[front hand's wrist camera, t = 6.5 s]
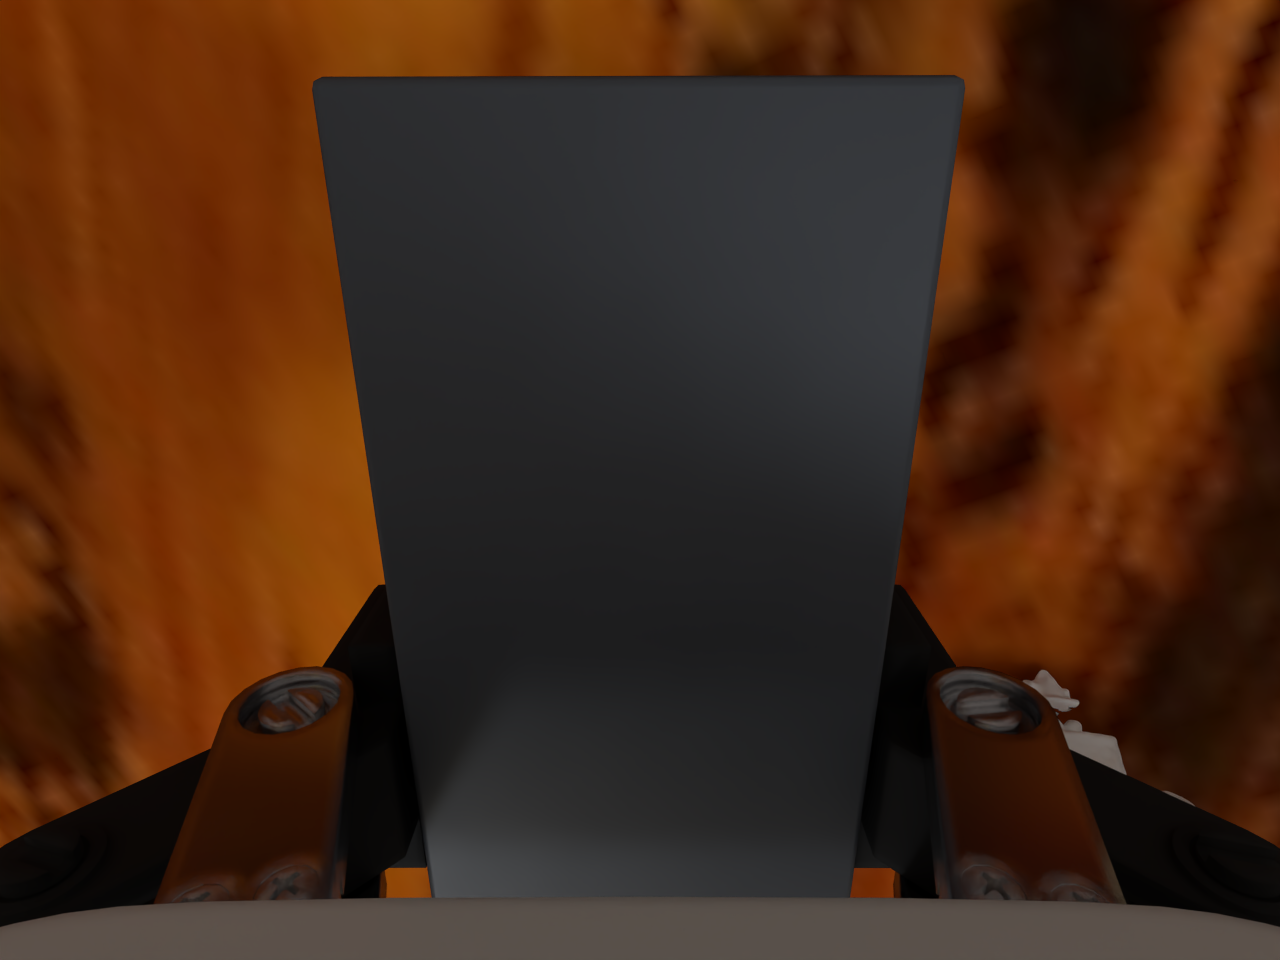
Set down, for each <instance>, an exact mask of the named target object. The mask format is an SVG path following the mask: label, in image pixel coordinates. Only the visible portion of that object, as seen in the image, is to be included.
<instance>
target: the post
mask: <svg viewBox="0 0 1280 960" xmlns="http://www.w3.org/2000/svg"><path fill="white" fill-rule="evenodd" d="M312 92H313V98H314V105H315V112H316V119H317V125H318V132H319V139H320V146H321V152H322V159H323V166H324V173H325V179H326V186H327V193H328V200H329V206H330V213H331V220H332V227H333V233H334V240H335V247H336V254H337V260H338V267H339V274H340V281H341V287H342V294H343V301H344V308H345V314H346V321H347V328H348V335H349V341H350V348H351V355H352V362H353V368H354V375H355V382H356V389H357V395H358V402H359V409H360V416H361V422H362V429H363V436H364V443H365V449H366V456H367V463H368V470H369V476H370V483H371V490H372V497H373V503H374V510H375V517H376V524H377V530H378V537H379V544H380V551H381V557H382V564H383V571H384V578H385V584H386V591H387V598H388V605H389V611H390V618H391V625H392V632H393V639H394V645H395V652H396V659H397V666H398V672H399V679H400V686H401V693H402V699H403V706H404V713H405V720H406V726H407V733H408V740H409V747H410V753H411V760H412V767H413V774H414V780H415V787H416V794H417V801H418V807H419V814H420V821H421V828H422V834H423V841H424V848H425V855H426V861H427V868H428V875H429V882H430V888H431V895H432V898H492V897H788V898H850V893H851V886H852V879H853V872H854V865H855V858H856V851H857V844H858V837H859V830H860V823H861V816H862V809H863V802H864V795H865V788H866V781H867V774H868V767H869V760H870V752H871V745H872V738H873V731H874V724H875V717H876V710H877V703H878V696H879V689H880V682H881V675H882V668H883V661H884V654H885V647H886V640H887V633H888V626H889V619H890V612H891V605H892V598H893V591H894V584H895V577H896V570H897V563H898V556H899V549H900V542H901V535H902V528H903V520H904V513H905V506H906V499H907V492H908V485H909V478H910V471H911V464H912V457H913V450H914V443H915V436H916V429H917V422H918V415H919V408H920V401H921V394H922V387H923V380H924V373H925V366H926V359H927V352H928V345H929V338H930V331H931V324H932V317H933V310H934V303H935V296H936V288H937V281H938V274H939V267H940V260H941V253H942V246H943V239H944V232H945V225H946V218H947V211H948V204H949V197H950V190H951V183H952V176H953V169H954V162H955V155H956V148H957V141H958V134H959V127H960V120H961V113H962V106H963V99H964V92H965V85H964V80H963V79H961V78H959V77H957V76H955V75H843V76H452V77H321V78H319V79H317V80H315V81H314V82H313V88H312Z"/></svg>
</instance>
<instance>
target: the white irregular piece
mask: <svg viewBox="0 0 1280 960" xmlns="http://www.w3.org/2000/svg"><path fill="white" fill-rule="evenodd" d="M1023 682H1024V683H1026V684H1028V685H1029V686H1031V687H1033V688H1034V689H1036V690H1037V691H1038V692H1039V693H1040V694H1041V695H1043V696H1044V697H1045V698H1046V699H1047V700H1048V701H1049V703H1050V704H1051V706H1052V707H1053V708H1056V709H1058V710H1059V711H1062V712H1064V711H1069V710H1071V709H1070V707H1073V708H1075V707H1077V706H1078V705H1079V701H1078V700H1076V699H1071V698H1070V695H1069V690H1068V689H1064V688H1061V687H1060V686H1059V685H1058V684H1057V682H1056V681H1055V679H1054V678H1053V677H1052V676H1051V675H1050V674H1049V673H1048V672H1047V671H1046V670H1040V671H1039V673H1038V674H1037V675H1036V677H1035V679H1034V680H1032V681H1030V680H1023ZM1068 709H1069V710H1068ZM1056 714H1057V715H1058V714H1059V713H1057V712H1056ZM1058 720H1059V719H1058ZM1059 723H1060V725H1061V728H1062V731H1063V733H1064V736H1065V739H1066V742H1067V744H1068V747H1069V749H1071V750H1073V751H1075V752H1077V753H1079V754H1081V755H1084V756H1086V757H1088V758H1090V759H1092V760H1095V761H1097V762H1099V763H1101V764H1103V765H1106V766H1108V767H1110V768H1112V769H1114V770H1117V771H1119V772H1121V773H1123V774H1125V775H1126V771H1125V769H1124V766H1123V763H1122V758H1121V754H1120V751H1119V748H1118V745H1117V740H1116V738H1115V737H1113V736H1109V735H1103V734H1097V733H1089V732H1082V725H1081V723H1080V722H1078V721H1076V720H1068V721H1066V723H1065V724H1064V725H1063V724H1062V723H1061V722H1060V720H1059ZM1162 792H1165V793H1167V794H1169V795H1171V796H1173V797H1176V798H1178V799H1180V800H1182V801H1184V802H1187V803H1189V804H1191V805H1193V804H1192V803H1191V802H1189V801H1188V800H1186V799H1184V798H1182V797H1181V796H1178V795H1176V794H1174V793H1171V792H1168V791H1162ZM1193 806H1194V805H1193Z"/></svg>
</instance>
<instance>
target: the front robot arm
mask: <svg viewBox="0 0 1280 960" xmlns="http://www.w3.org/2000/svg"><path fill="white" fill-rule="evenodd" d="M426 867H427V861H426V855H425V848H424V841H423V834H422V828H421V821H420V814H419V807H418V801H417V794H416V787H415V780H414V774H413V767H412V760H411V753H410V747H409V740H408V733H407V726H406V720H405V713H404V706H403V699H402V693H401V686H400V679H399V672H398V666H397V659H396V652H395V645H394V639H393V632H392V625H391V618H390V611H389V605H388V598H387V591H386V585H378V586H377V587H376V588H375V589H374V590H373V592H372V593H371V595H370V596H369V598H368V599H367V601H366V602H365V604H364V605H363V607H362V608H361V610H360V611H359V613H358V614H357V616H356V617H355V619H354V620H353V622H352V623H351V625H350V626H349V628H348V629H347V631H346V632H345V634H344V635H343V637H342V638H341V640H340V641H339V643H338V644H337V646H336V647H335V649H334V650H333V652H332V653H331V655H330V656H329V658H328V659H327V661H326V662H325V664H324V665H323V667H318V666H315V667H300V668H295V669H291V670H286V671H282V672H278V673H276V674H273V675H271V676H268V677H266V678H263V679H261V680H259V681H257V682H256V683H254V684H252V685H251V686H249V687H247V688H246V689H244V690H243V691H242V692H241V693H240V694H239V695H237V696H236V697H235V698H234V699H233V700H232V701H231V703H230V704H229V706H228V707H227V709H226V711H225V712H224V714H223V717H222V720H221V723H220V725H219V728H218V731H217V733H216V736H215V739H214V742H213V744H212V747H211V749H209V750H206V751H204V752H202V753H200V754H198V755H195V756H193V757H191V758H189V759H187V760H185V761H182V762H180V763H178V764H176V765H174V766H171V767H169V768H167V769H165V770H163V771H161V772H158V773H156V774H154V775H152V776H150V777H147V778H145V779H143V780H141V781H139V782H136V783H134V784H132V785H130V786H128V787H126V788H123V789H121V790H119V791H117V792H115V793H112V794H110V795H108V796H106V797H104V798H102V799H99V800H97V801H95V802H93V803H91V804H88V805H86V806H84V807H82V808H80V809H77V810H75V811H73V812H71V813H69V814H67V815H64V816H62V817H60V818H58V819H56V820H53V821H51V822H49V823H47V824H45V825H43V826H40V827H38V828H36V829H34V830H32V831H30V832H28V833H26V834H24V835H22V836H20V837H19V838H17V839H15V840H13V841H11V842H9V843H7V844H6V845H4V846H3V847H1V848H0V960H1280V849H1279V848H1278V847H1277V846H1275V845H1274V844H1272V843H1270V842H1268V841H1266V840H1265V839H1263V838H1261V837H1259V836H1257V835H1255V834H1253V833H1252V832H1250V831H1248V830H1246V829H1243V828H1241V827H1239V826H1237V825H1235V824H1233V823H1230V822H1228V821H1226V820H1224V819H1222V818H1219V817H1217V816H1215V815H1213V814H1211V813H1208V812H1206V811H1204V810H1202V809H1200V808H1198V807H1195V806H1193V805H1191V804H1189V803H1187V802H1184V801H1182V800H1180V799H1178V798H1176V797H1173V796H1171V795H1169V794H1167V793H1165V792H1162V791H1160V790H1158V789H1156V788H1154V787H1152V786H1149V785H1147V784H1145V783H1143V782H1141V781H1138V780H1136V779H1134V778H1132V777H1130V776H1127V775H1125V774H1123V773H1121V772H1119V771H1117V770H1114V769H1112V768H1110V767H1108V766H1106V765H1103V764H1101V763H1099V762H1097V761H1095V760H1092V759H1090V758H1088V757H1086V756H1084V755H1081V754H1079V753H1077V752H1075V751H1073V750H1071V749H1069V747H1068V744H1067V742H1066V739H1065V736H1064V733H1063V731H1062V728H1061V725H1060V723H1059V720H1058V717H1057V714H1056V712H1055V711H1054V709H1053V707H1052V706H1051V704H1050V703H1049V701H1048V700H1047V699H1046V698H1045V697H1044V696H1043V695H1041V694H1040V693H1039V692H1038V691H1037V690H1036V689H1034V688H1033V687H1031V686H1029V685H1028V684H1026V683H1024V682H1023V681H1021V680H1019V679H1017V678H1014V677H1012V676H1009V675H1007V674H1004V673H1002V672H998V671H994V670H989V669H985V668H980V667H965V666H962V667H956V665H955V664H954V662H953V661H952V659H951V658H950V656H949V655H948V653H947V652H946V650H945V649H944V647H943V646H942V644H941V643H940V641H939V640H938V638H937V637H936V635H935V634H934V632H933V631H932V629H931V628H930V626H929V625H928V623H927V622H926V620H925V619H924V617H923V616H922V614H921V613H920V611H919V610H918V608H917V607H916V605H915V604H914V602H913V601H912V599H911V598H910V596H909V595H908V593H907V592H906V591H905V589H904V588H903V587H902V586H901V585H894V591H893V598H892V605H891V612H890V619H889V626H888V633H887V640H886V647H885V654H884V661H883V668H882V675H881V682H880V689H879V696H878V703H877V710H876V717H875V724H874V731H873V738H872V745H871V752H870V760H869V767H868V774H867V781H866V788H865V795H864V802H863V809H862V816H861V823H860V830H859V837H858V844H857V851H856V858H855V865H854V868H891V869H893V870H894V871H895V876H894V883H893V890H894V898H788V897H492V898H386V890H387V883H386V876H385V870H386V869H388V868H426Z"/></svg>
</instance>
